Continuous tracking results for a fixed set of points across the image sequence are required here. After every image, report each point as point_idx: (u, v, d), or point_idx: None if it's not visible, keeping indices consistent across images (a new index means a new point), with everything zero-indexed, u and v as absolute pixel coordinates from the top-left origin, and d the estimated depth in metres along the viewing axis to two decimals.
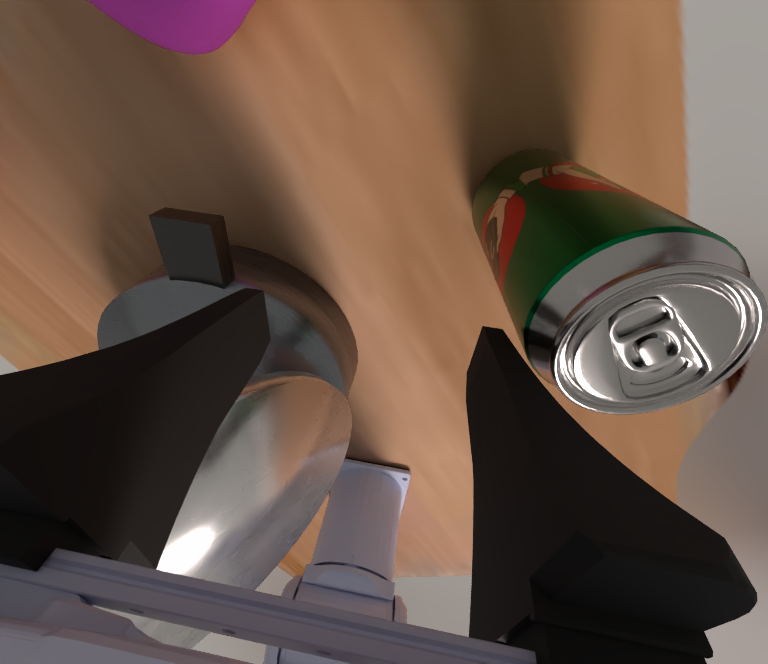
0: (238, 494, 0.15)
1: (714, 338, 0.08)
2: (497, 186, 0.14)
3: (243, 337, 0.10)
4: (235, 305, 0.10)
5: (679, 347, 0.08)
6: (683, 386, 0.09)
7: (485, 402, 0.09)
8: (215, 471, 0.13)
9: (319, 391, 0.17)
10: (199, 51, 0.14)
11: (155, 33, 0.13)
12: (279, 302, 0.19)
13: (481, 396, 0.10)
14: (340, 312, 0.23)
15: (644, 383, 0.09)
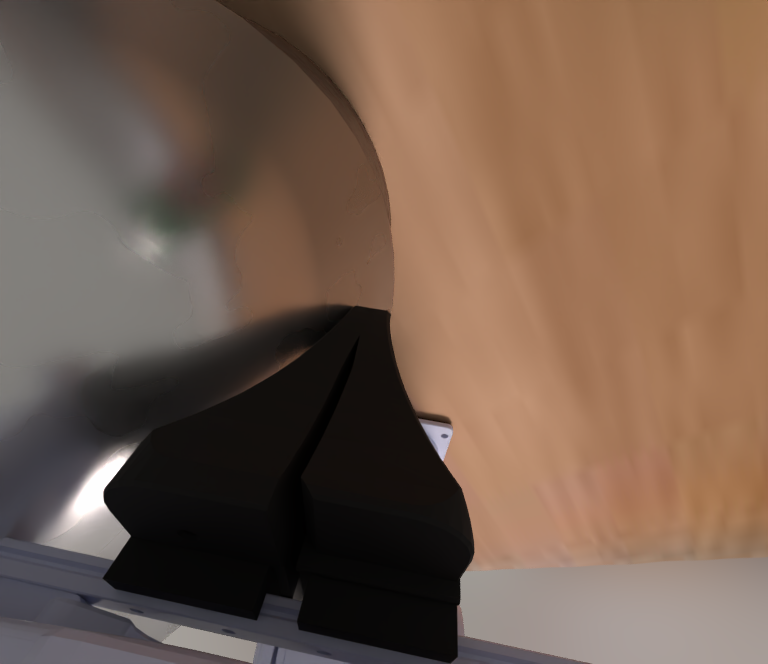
0: (165, 347, 0.06)
1: None
2: None
3: None
4: (360, 326, 0.09)
5: None
6: None
7: None
8: (66, 219, 0.05)
9: (347, 157, 0.08)
10: None
11: None
12: None
13: None
14: (368, 138, 0.15)
15: None
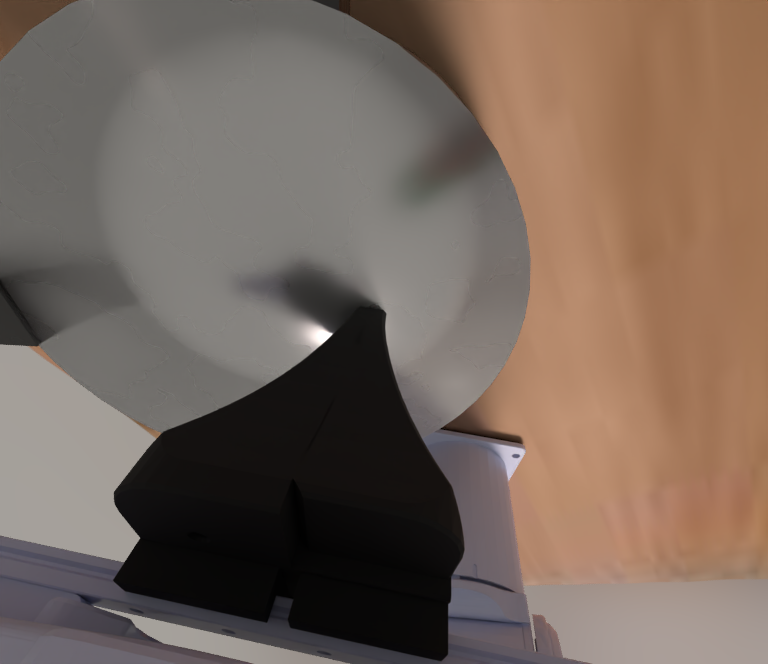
0: (287, 257, 0.10)
1: None
2: None
3: None
4: (366, 327, 0.09)
5: None
6: None
7: None
8: (256, 155, 0.08)
9: (482, 168, 0.08)
10: None
11: None
12: None
13: None
14: None
15: None
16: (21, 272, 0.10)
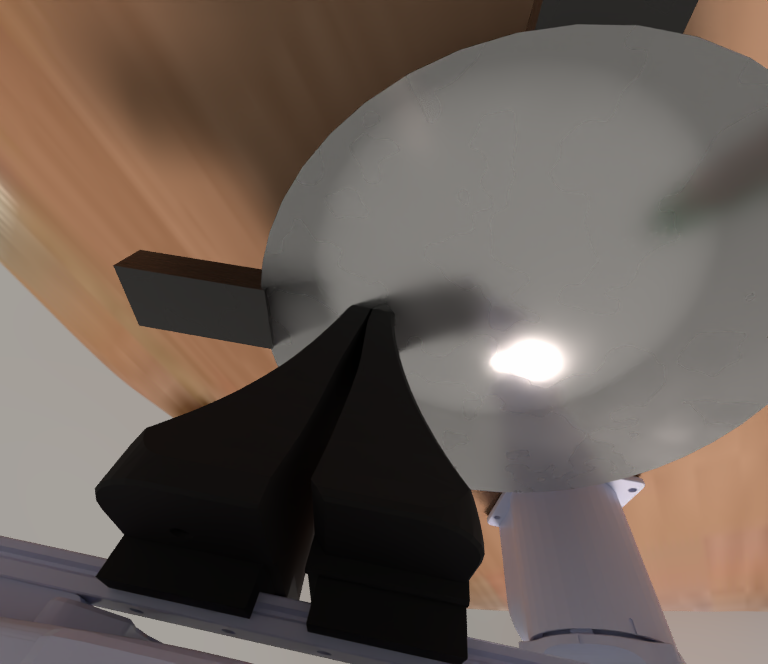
0: (551, 293, 0.10)
1: None
2: None
3: (357, 357, 0.10)
4: (356, 325, 0.09)
5: None
6: None
7: None
8: (572, 194, 0.08)
9: None
10: None
11: None
12: None
13: None
14: None
15: None
16: (289, 284, 0.11)
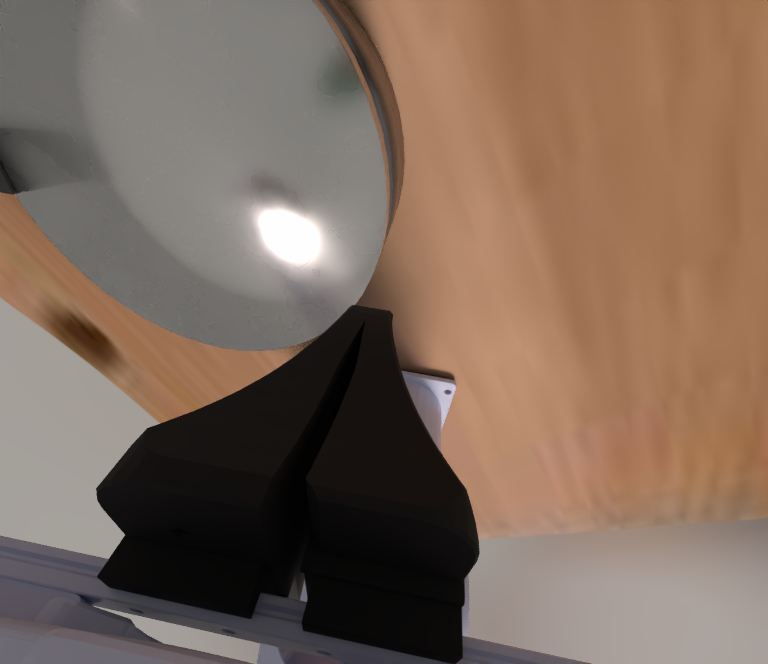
0: (180, 120, 0.12)
1: None
2: None
3: (358, 357, 0.10)
4: (357, 325, 0.09)
5: None
6: None
7: None
8: (142, 19, 0.10)
9: (316, 35, 0.10)
10: None
11: None
12: None
13: None
14: (386, 74, 0.15)
15: None
16: None
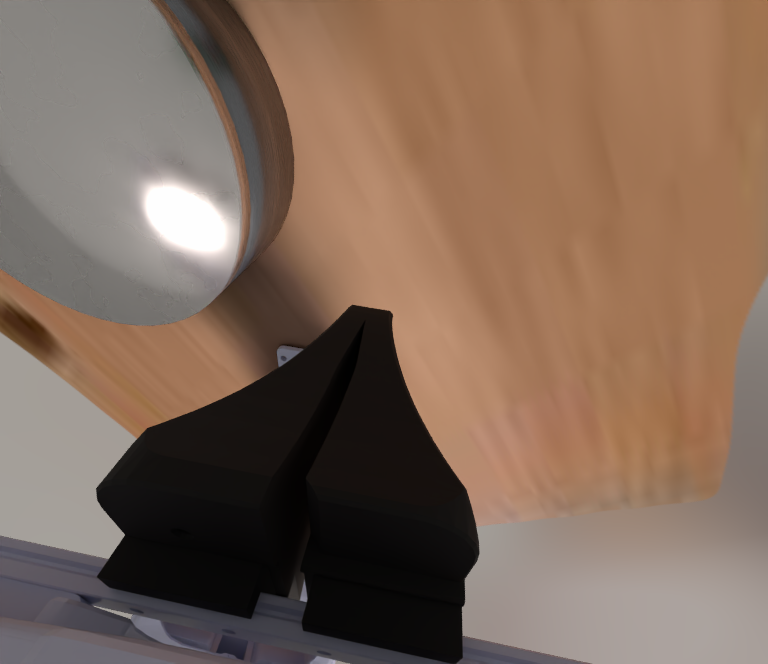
0: (26, 87, 0.12)
1: None
2: None
3: (358, 357, 0.10)
4: (357, 325, 0.09)
5: None
6: None
7: None
8: None
9: None
10: None
11: None
12: None
13: None
14: (257, 49, 0.16)
15: None
16: None
